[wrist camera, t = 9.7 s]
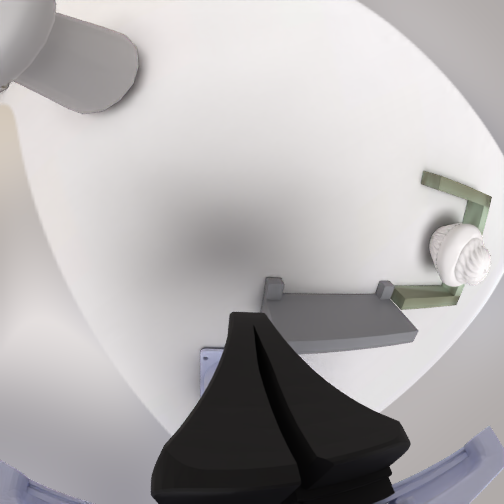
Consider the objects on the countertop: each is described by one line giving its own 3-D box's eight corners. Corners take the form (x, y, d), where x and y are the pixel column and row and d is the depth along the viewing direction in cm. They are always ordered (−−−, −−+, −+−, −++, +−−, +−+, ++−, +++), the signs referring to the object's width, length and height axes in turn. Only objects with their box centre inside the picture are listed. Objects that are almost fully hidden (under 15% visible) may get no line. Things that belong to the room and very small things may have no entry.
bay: (443, 294, 26) (456, 305, 24) (388, 296, 24) (401, 309, 22) (476, 190, 21) (491, 196, 19) (423, 170, 20) (441, 176, 17)
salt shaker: (151, 37, 13) (75, -68, 2) (144, 110, 16) (25, 78, 4) (79, 50, 13) (-38, 1, 1) (71, 120, 15) (-69, 130, 3)
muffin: (442, 199, 21) (495, 224, 15) (464, 233, 23) (509, 259, 17) (408, 251, 23) (455, 288, 16) (434, 278, 25) (475, 313, 18)
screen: (376, 315, 25) (406, 354, 20) (259, 318, 23) (272, 368, 18) (389, 281, 24) (425, 316, 18) (266, 277, 22) (283, 324, 16)
